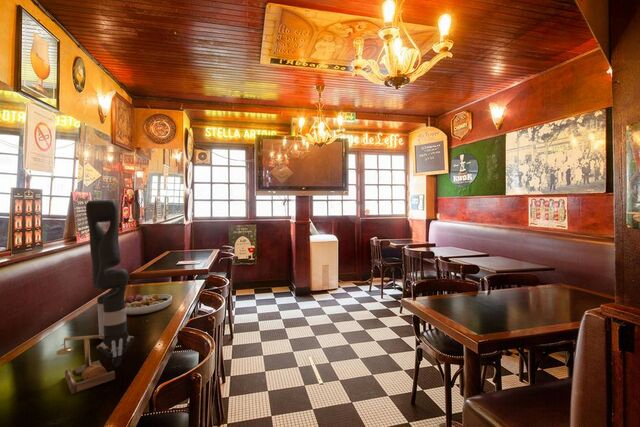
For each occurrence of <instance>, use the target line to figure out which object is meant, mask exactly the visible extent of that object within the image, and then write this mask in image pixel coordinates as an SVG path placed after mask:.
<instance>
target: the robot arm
mask: <svg viewBox="0 0 640 427" xmlns="http://www.w3.org/2000/svg"><path fill="white" fill-rule="evenodd" d="M118 209H119V208H118V204H117V202H116V201H115V200H113V199H103V200H102V199H101V200H90V201H89V200H88V202H87V203H86V205H85V214H86V219H87V225H88V226H87V227H88V231H89V232H88V233H89V248H90V256H91V257H90V258H91V264H92V266H91V267H92V272H91V273H92V274H91V276H92V286H93V287H94V289H96V290H101V291H106V292H105V293H104V294H101V295H99V296H98V297H97V299H96V300H97V301H96V302H97V317H98V318H97V321H98V335H104V337H103V338H99V339H100V340H102V342H101V343H100V344H98V345H97V346H96V349H97V351H99V352H100V353H102V355H105V357H107V358H111V359H112V360H111V361H112V364H113V365H114V366H115V367H118V366H121V364H122V362H123V361H122V359H123V358H122V355H123V354H124V353H125V354H126V352H128V350H129V349H130V347H131V345H132V344H133V343H134V341H135V340H136V339H135V336H133V335H129V332H128V329H127V328H128V324H127V317H128V316H127V314H126V311H125V299H126V291H127V286H128V283H129V278H130V275H129V272H128V271H127V270H126V269H124V268H119V269H118V268H116V267H117V266H118V265H120V263H121V260H122V258H121V252H120V246H119V210H118ZM105 222H106V223H108V222H109V226H108V229H107V230H104V229H103V228H102V227H101V226H100V225H99V223H105ZM113 267H115V268H113ZM107 290H109V291H107ZM104 345H106V346H108V347H109V348H108V349H110V351H109V350H107V349H104V348H105V346H104Z"/></svg>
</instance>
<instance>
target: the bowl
mask: <svg viewBox="0 0 640 427" xmlns="http://www.w3.org/2000/svg"><path fill="white" fill-rule="evenodd" d="M172 301H173V296H172V295H170V294H166V293H159V294H158V293H154V294H146V295H141V294H136V295H135V296H134V295H128V296H125V311H126V315H143V314H149V313H154V312H157V311H161V310H163V309H165V308H167V307H168V306H169V305H171V303H172Z"/></svg>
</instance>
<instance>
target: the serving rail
mask: <svg viewBox="0 0 640 427" xmlns="http://www.w3.org/2000/svg"><path fill="white" fill-rule="evenodd" d="M64 376H65V379H66V380H65V381H66V383H67V385H68V389H69V391H70V393H71V395H73V394H75V393H78V392H79V393H80V392H81V391H85V390H87V389H91V388H93V387H95V386H99V385H102V384H103V383H107V382H109V381H112V380H115V379H116V372H115V370H112V371H109V372H108V371H107V373H105V374H102V375H99V376H96V377H93V378H90V379H87V380H81V381H79V382H76V379H75V377H74V375H73V372H72V371H71V368H66V370H64Z"/></svg>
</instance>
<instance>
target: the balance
mask: <svg viewBox="0 0 640 427" xmlns="http://www.w3.org/2000/svg"><path fill="white" fill-rule="evenodd" d="M103 337H104V335H99V334H97V335H94V334H93V335H83V336H70V337H64V338H63V348H61V349H58V350H57V351H56V353H55V354H56V355H57V356H60V355H61V356H62V355H66V354H70V353H72V352H73V351H74V347H71V346H70V347H69V346H68V347H66V341H68V342H69V341H77V340H78V341H79V340H83V342H84V343H83V344H84V359H85V360H84V361H85V364H82V365H80V366H75V367H74V369H73V370H74V372H75V375H76V376H80V375H81V376H82V373H83V371H84V370H85V369H86V368H88V367H89V366H91V365H96V366H98V365H101V366H103V364H102V363H101V362H100V360H96V361H92V360H91V346H90V342H91V341H90V339H100V338H103ZM104 346H105V348H104V349H106V350H107V349H110V348H109V347H108V346H106V345H104Z"/></svg>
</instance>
